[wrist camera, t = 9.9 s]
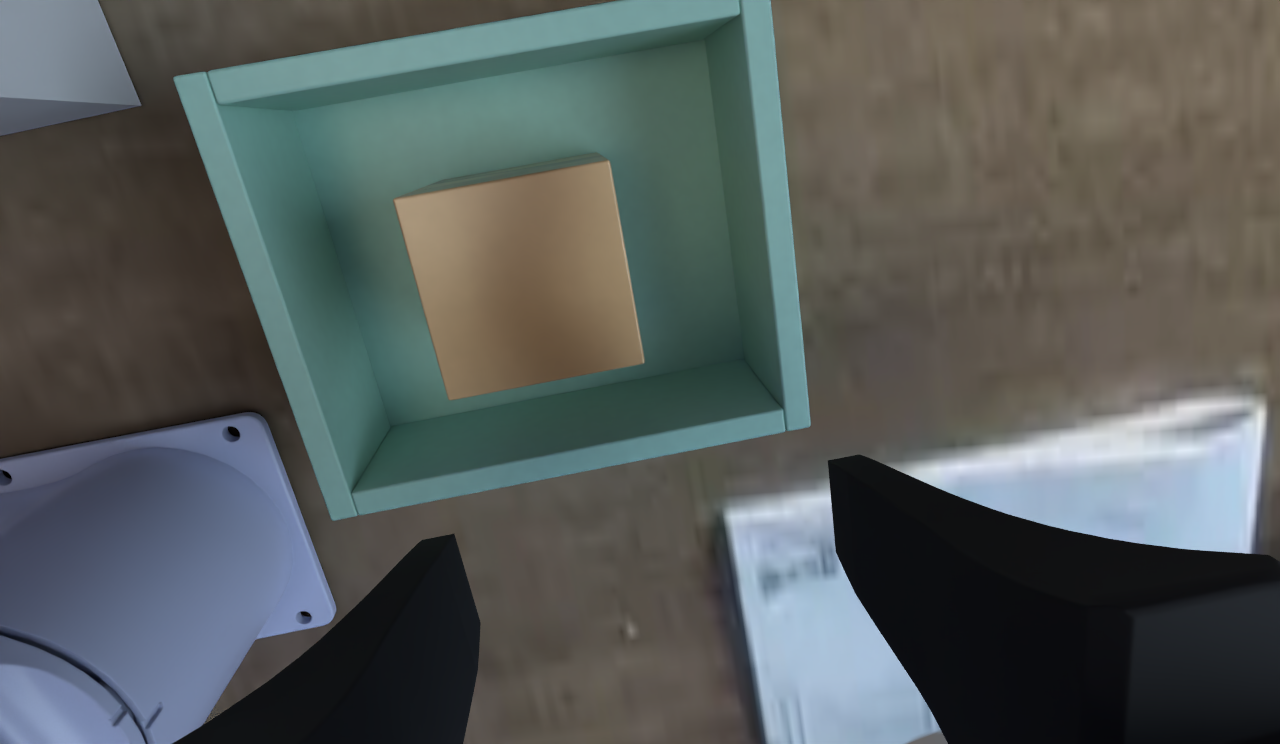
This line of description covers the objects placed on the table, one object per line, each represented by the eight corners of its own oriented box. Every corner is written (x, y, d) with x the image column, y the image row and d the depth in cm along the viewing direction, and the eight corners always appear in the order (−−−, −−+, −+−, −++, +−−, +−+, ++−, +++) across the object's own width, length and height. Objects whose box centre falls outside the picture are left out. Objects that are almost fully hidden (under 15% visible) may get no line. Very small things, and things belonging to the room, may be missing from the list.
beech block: (479, 332, 22) (448, 401, 16) (440, 180, 20) (391, 198, 15) (625, 304, 22) (645, 364, 16) (598, 152, 21) (610, 159, 15)
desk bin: (379, 442, 23) (331, 522, 19) (265, 89, 20) (170, 76, 15) (763, 369, 24) (812, 427, 19) (721, 10, 20) (769, -27, 15)
